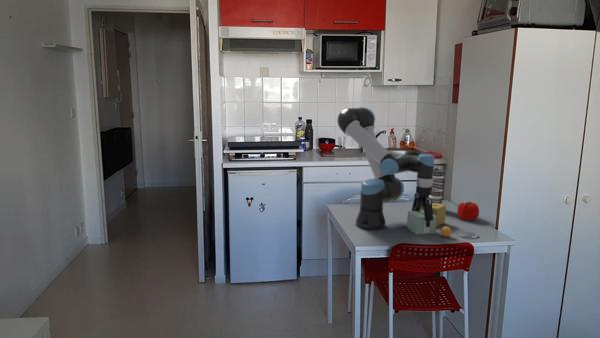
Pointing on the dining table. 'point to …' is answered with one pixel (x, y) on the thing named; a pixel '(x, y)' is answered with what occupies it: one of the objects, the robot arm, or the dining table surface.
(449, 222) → the dining table surface
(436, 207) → the cheese
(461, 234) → the disc
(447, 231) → the ball
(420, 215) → the sage green cube
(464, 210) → the tomato
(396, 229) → the dining table surface
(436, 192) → the decorative candle
